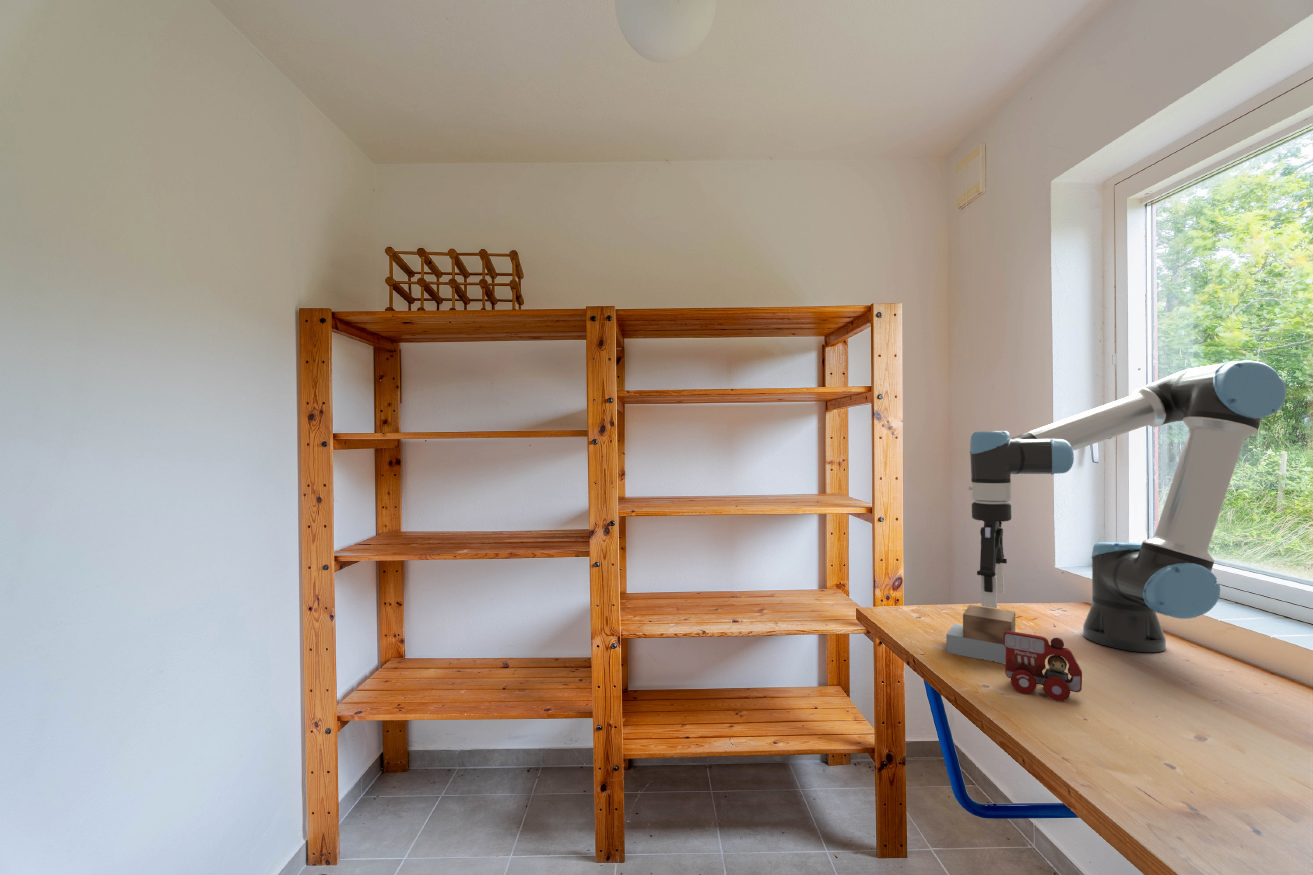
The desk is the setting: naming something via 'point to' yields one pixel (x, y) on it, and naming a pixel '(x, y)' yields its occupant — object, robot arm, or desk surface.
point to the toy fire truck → (1040, 665)
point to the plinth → (973, 646)
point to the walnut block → (987, 623)
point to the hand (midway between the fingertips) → (993, 599)
